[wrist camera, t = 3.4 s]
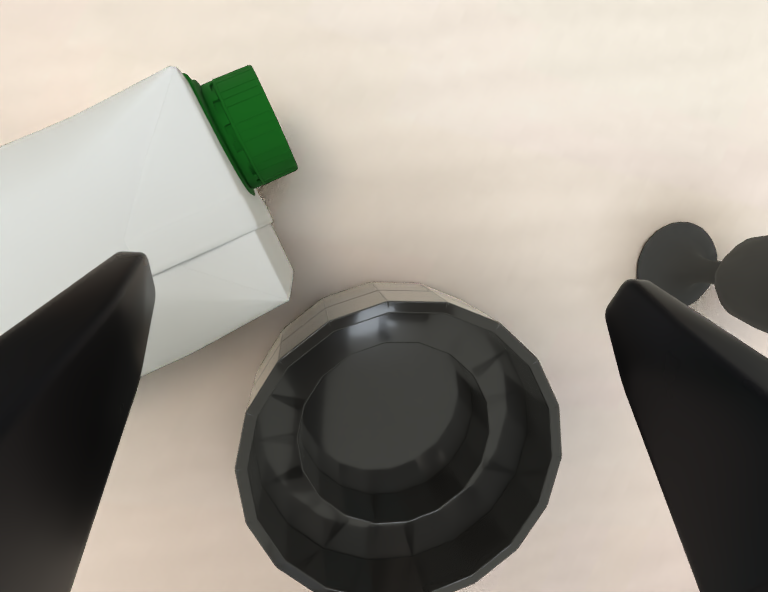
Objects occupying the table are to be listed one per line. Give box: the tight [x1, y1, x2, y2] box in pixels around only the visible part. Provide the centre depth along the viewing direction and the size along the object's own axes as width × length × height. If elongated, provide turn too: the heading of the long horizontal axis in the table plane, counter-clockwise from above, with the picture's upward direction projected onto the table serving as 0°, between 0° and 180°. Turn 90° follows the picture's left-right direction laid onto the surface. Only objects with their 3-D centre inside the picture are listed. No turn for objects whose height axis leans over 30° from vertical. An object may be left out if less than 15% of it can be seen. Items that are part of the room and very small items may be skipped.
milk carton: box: [0, 65, 298, 377], centre depth 18 cm, size 9×9×20 cm
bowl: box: [235, 282, 562, 592], centre depth 23 cm, size 14×14×6 cm
